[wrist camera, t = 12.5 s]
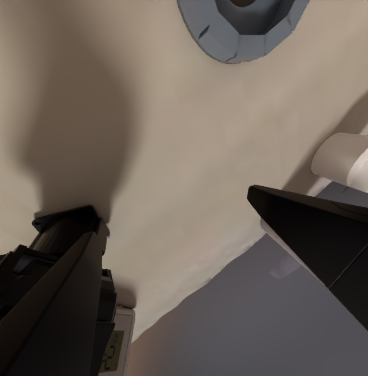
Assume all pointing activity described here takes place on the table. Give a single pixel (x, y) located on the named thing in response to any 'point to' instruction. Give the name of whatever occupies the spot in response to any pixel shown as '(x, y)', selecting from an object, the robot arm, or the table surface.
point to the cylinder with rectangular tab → (343, 160)
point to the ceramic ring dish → (240, 26)
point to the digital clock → (118, 344)
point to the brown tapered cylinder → (242, 2)
